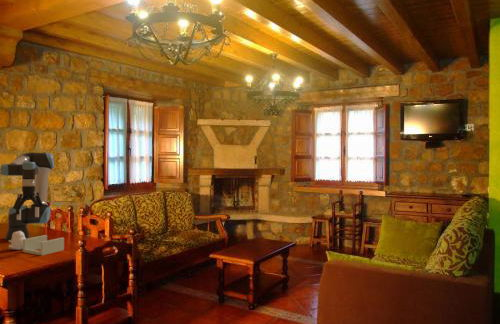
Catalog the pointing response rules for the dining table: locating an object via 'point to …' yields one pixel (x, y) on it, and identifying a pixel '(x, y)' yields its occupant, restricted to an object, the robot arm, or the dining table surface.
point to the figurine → (17, 240)
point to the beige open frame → (42, 245)
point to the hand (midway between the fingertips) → (28, 218)
